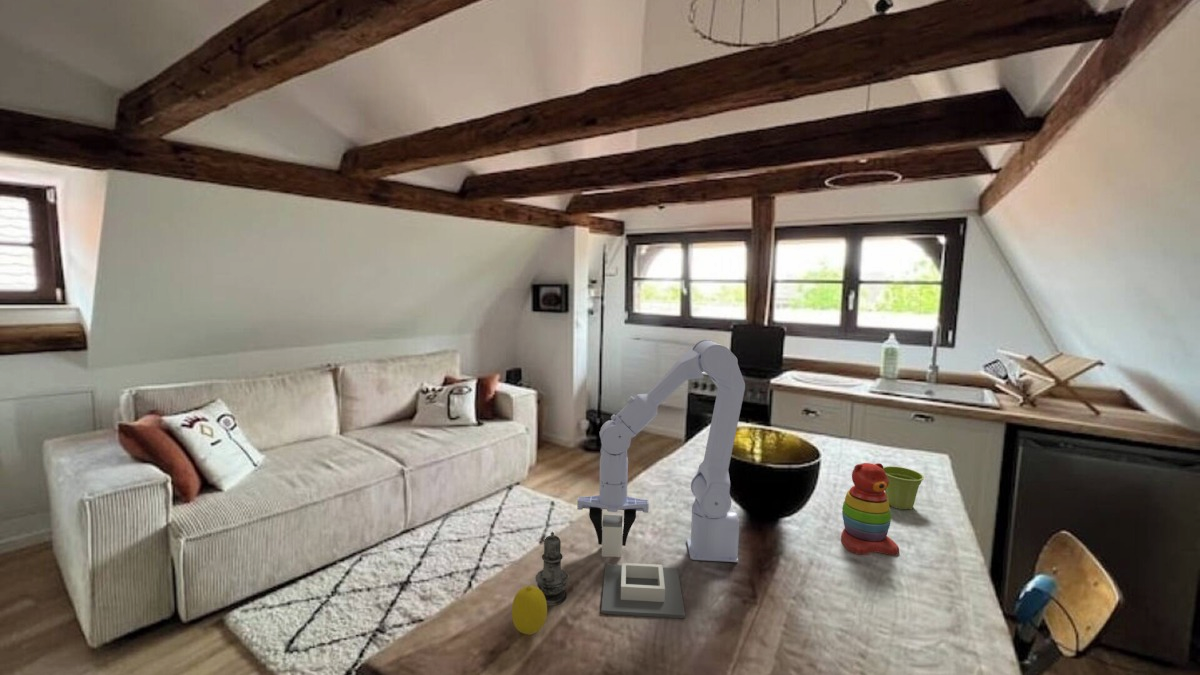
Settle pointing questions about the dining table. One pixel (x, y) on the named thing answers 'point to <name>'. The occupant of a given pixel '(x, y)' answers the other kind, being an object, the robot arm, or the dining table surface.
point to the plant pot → (902, 486)
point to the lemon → (529, 610)
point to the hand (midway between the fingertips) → (612, 542)
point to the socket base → (642, 591)
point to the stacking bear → (868, 512)
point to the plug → (612, 536)
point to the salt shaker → (552, 572)
